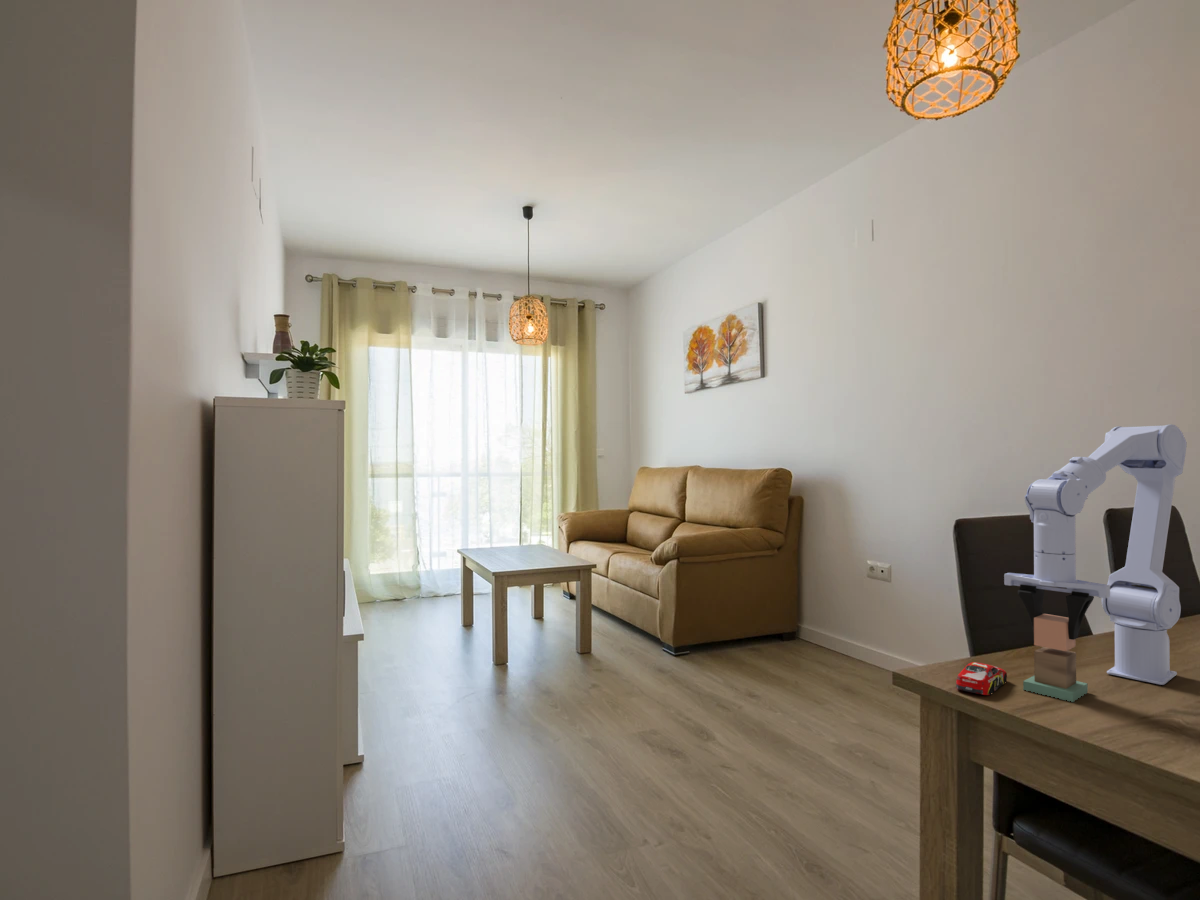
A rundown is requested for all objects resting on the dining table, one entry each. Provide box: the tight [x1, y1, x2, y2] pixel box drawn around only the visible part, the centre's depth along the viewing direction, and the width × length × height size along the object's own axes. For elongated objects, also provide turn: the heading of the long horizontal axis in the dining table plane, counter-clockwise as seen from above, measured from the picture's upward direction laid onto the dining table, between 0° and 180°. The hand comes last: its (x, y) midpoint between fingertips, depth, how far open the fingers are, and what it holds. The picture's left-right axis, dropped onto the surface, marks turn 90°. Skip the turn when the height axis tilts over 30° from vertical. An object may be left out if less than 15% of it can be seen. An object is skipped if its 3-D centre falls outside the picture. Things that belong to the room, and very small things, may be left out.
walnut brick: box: [1033, 647, 1077, 689], centre depth 111 cm, size 4×4×5 cm
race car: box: [955, 661, 1008, 696], centre depth 114 cm, size 13×5×4 cm, turn 134°
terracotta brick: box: [1033, 613, 1077, 651], centre depth 111 cm, size 4×4×4 cm
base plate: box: [1022, 675, 1089, 703], centre depth 111 cm, size 7×7×2 cm
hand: (1055, 635), depth 111 cm, fingers closed on terracotta brick, 4 cm apart
